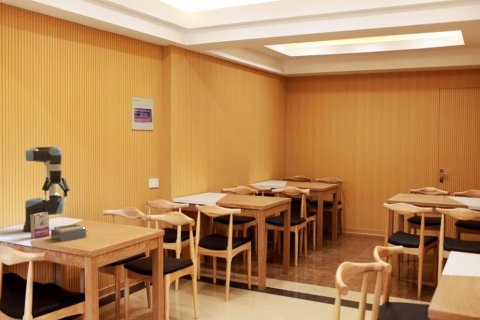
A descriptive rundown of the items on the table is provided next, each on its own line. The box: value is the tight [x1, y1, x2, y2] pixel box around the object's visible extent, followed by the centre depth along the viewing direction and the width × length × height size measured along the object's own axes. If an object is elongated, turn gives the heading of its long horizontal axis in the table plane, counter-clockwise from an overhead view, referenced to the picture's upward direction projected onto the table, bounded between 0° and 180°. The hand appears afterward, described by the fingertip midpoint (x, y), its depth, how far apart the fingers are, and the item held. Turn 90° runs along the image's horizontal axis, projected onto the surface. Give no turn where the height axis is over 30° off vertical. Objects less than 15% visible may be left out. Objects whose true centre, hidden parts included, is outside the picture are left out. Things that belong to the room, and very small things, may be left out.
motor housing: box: [50, 223, 89, 243], centre depth 315 cm, size 14×23×8 cm, turn 137°
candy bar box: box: [30, 212, 50, 240], centre depth 316 cm, size 11×5×16 cm, turn 148°
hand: (56, 200), depth 316 cm, fingers open, 13 cm apart
